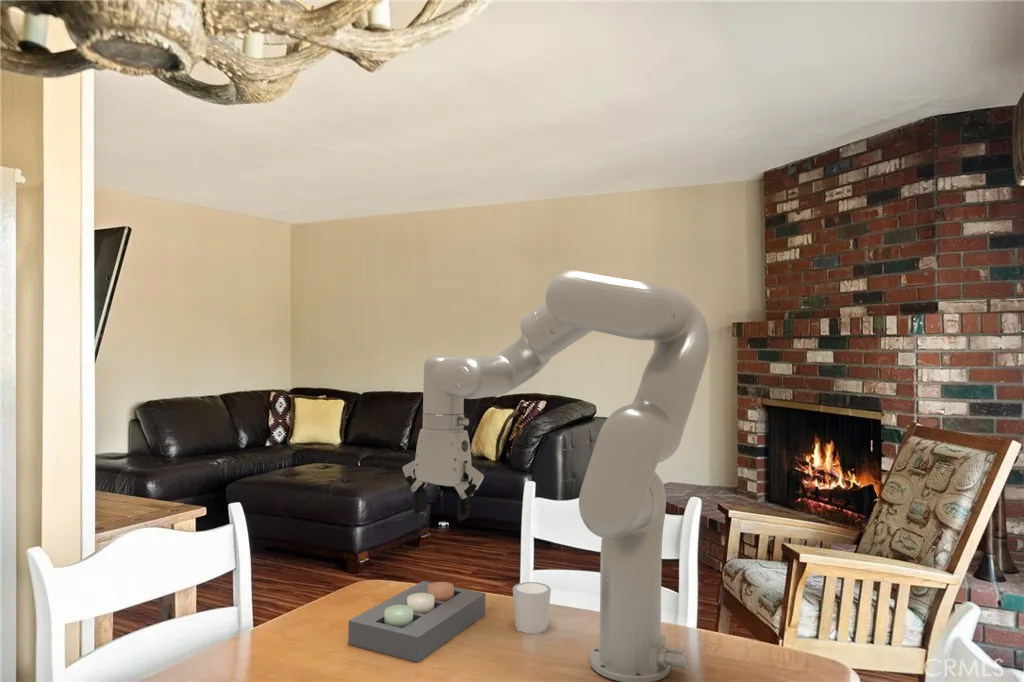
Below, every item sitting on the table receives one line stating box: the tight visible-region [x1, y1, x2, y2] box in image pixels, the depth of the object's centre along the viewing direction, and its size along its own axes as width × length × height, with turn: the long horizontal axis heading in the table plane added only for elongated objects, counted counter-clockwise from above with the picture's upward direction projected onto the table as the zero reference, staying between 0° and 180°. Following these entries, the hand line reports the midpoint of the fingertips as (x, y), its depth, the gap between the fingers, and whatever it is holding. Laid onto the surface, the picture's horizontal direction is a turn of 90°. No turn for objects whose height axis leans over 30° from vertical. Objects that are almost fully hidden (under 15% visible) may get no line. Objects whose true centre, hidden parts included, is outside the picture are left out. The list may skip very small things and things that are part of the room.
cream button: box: [407, 593, 434, 614], centre depth 121 cm, size 5×5×3 cm
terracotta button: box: [428, 581, 455, 602], centre depth 127 cm, size 5×5×3 cm
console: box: [347, 580, 486, 664], centre depth 121 cm, size 14×22×4 cm, turn 153°
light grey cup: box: [512, 581, 552, 635], centre depth 123 cm, size 7×7×7 cm
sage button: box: [384, 605, 413, 628], centre depth 116 cm, size 5×5×3 cm
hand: (441, 515), depth 127 cm, fingers open, 9 cm apart
